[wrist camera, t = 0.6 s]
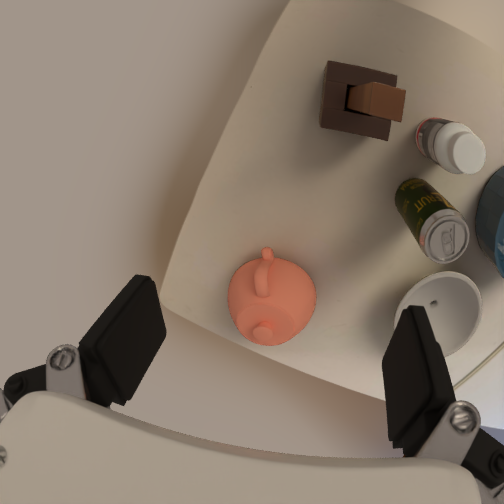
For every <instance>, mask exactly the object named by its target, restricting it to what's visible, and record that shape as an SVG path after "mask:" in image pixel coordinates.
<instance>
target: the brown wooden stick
mask: <svg viewBox="0 0 504 504" xmlns="http://www.w3.org/2000/svg"><path fill="white" fill-rule="evenodd" d="M405 93H406V90H403V89H400V88H396V87H392V86H389V85H385V84H381V83H377V82H371V83H367V84H363V85H360V86H356V87H353V88H349V89H347V91H346V100H345V108H349V109H352V110H356V111H359V112H363V113H366V114H369V115H374V116H378V117H382V118H386V119H390V120H394V121H398V122H401V121H402V115H403V108H404V101H405Z"/></svg>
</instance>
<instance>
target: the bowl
mask: <svg viewBox="0 0 504 504" xmlns="http://www.w3.org/2000/svg"><path fill="white" fill-rule="evenodd" d="M476 234H477V238H478V242H479V245H480V247H481V249H482V251H483V252H484V254H485V255H486V257H487V258H488V259H489V260H490V262H491V263H492V264H493V266H494V267H495V268H496V269H497V271H498V272H499V273H500V275H501V276H502V277H503V278H504V166H503V167H502V168H500V169H499V170H498V171H497V172H496V173H495V174H494V175H493V176H492V178H491V179H490V181H489V182H488V184H487V185H486V187H485V189H484V191H483V194H482V196H481V198H480V201H479V205H478V210H477V215H476Z"/></svg>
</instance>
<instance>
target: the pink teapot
mask: <svg viewBox="0 0 504 504" xmlns="http://www.w3.org/2000/svg"><path fill="white" fill-rule="evenodd" d="M261 254H262V258H259V259H255V260H252V261H249V262H247V263H246V264H244V265H242V266H241V267H240V268H239V269H238V270H237V271H236V272H235V273H234V275H233V277H232V279H231V281H230V284H229V289H228V306H229V311H230V314H231V317H232V319H233V321H234V323H235V325H236V327H237V328H238V330H239V331H240V333H241V334H242V335H243V336H244V337H245V338H247V339H248V340H250V341H252V342H254V343H256V344H260V345H266V346H273V345H279V344H282V343H284V342H286V341H288V340H290V339H291V338H293V337H294V336H295V335H297V334H298V333H299V332H300V331H301V330H302V329H303V328H304V327H305V326H306V325H307V323H308V322H309V320H310V318H311V316H312V314H313V312H314V309H315V305H316V290H315V286H314V284H313V282H312V280H311V278H310V277H309V275H308V274H307V273H306V272H305V271H304V270H303V269H302V268H300V267H299V266H298V265H296V264H294V263H292V262H290V261H287V260H284V259H280V258H274V255H273V250H272V249H271V248H269V247H264V248H262V250H261Z"/></svg>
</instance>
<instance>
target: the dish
mask: <svg viewBox="0 0 504 504" xmlns="http://www.w3.org/2000/svg"><path fill="white" fill-rule="evenodd" d="M434 300H436V301H435V302H434V303H433V304H430V303H431V302H432V301H434ZM409 305H417V306H424V308H425V310H426V313H427V315H428V318H429V321H430V324H431V327H432V330H433V333H434V335H435V339H436V342H438V343H439V344H440V346H441V349H442V352H443V355H444V357H446V356H449V355H451V354H453V353H455V352H456V351H458V350H459V349H460V348H462V347H463V346H464V345H465V344H466V343H467V342H468V341H469V340H470V338H471V337H472V336H473V334H474V333H475V331H476V329H477V327H478V325H479V322H480V319H481V315H482V298H481V294H480V291H479V289H478V287H477V286H476V284H475V283H474V282H473V281H472V280H471V279H470V278H468V277H467V276H465V275H464V274H461V273H458V272H453V271H443V272H438V273H434V274H431V275H429V276H427V277H425V278H423V279H421V280H420V281H418V282H417V283H416V284H414V285H413V286H412V287H411V288H410V289H409V290H408V291H407V293H406V294H405V295H404V297H403V298H402V300H401V301H400V303H399V305H398V307H397V310H396V313H395V318H394V331H395V328H396V326H397V323H398V321H399V318H400V315H401V313H402V310H403V309H407V307H408V306H409Z"/></svg>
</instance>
